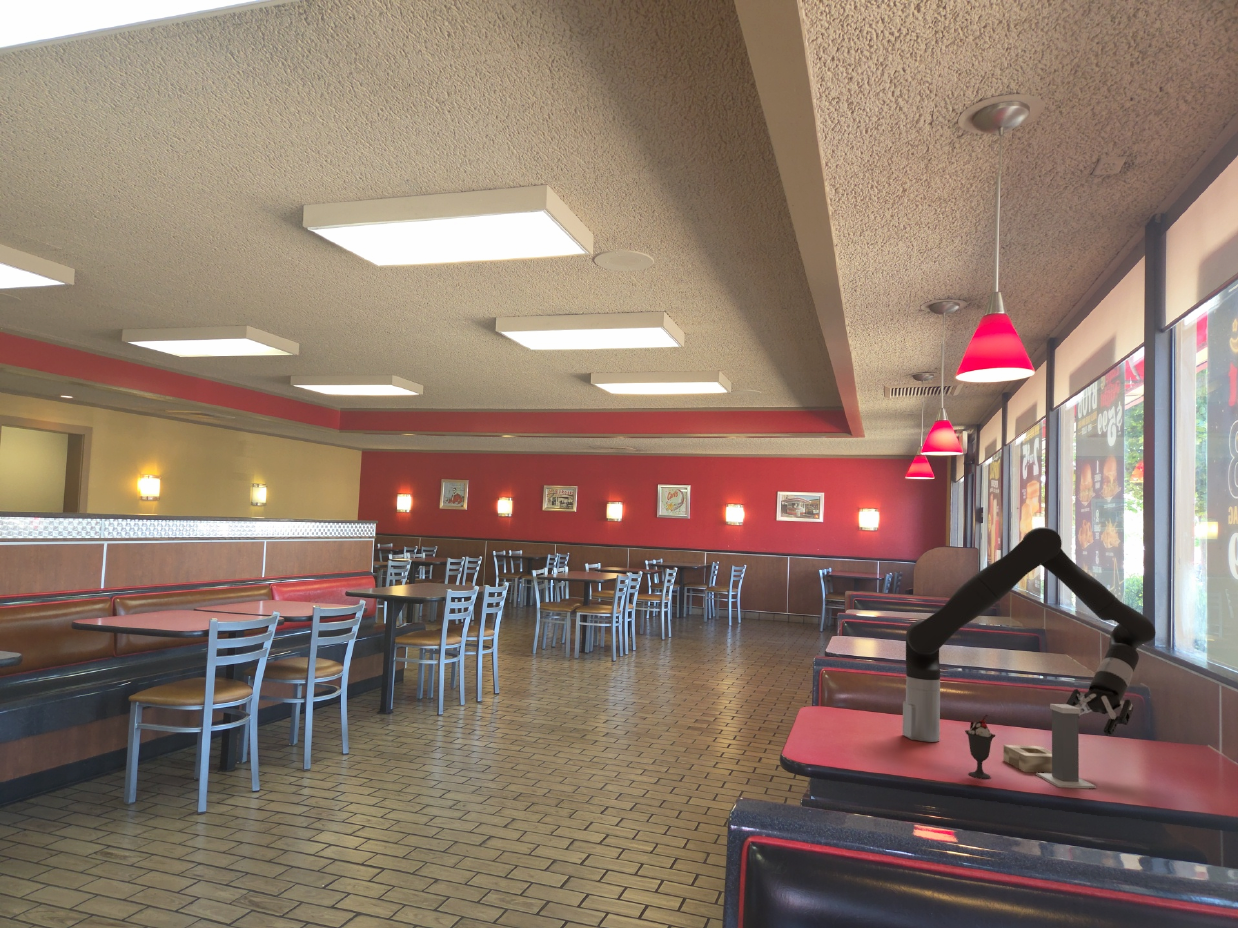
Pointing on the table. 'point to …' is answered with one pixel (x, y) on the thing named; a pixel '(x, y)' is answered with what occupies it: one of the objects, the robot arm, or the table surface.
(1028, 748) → the square wooden socket block
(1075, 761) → the plug
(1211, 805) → the table surface
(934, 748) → the table surface
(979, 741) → the sundae
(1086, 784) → the mat
